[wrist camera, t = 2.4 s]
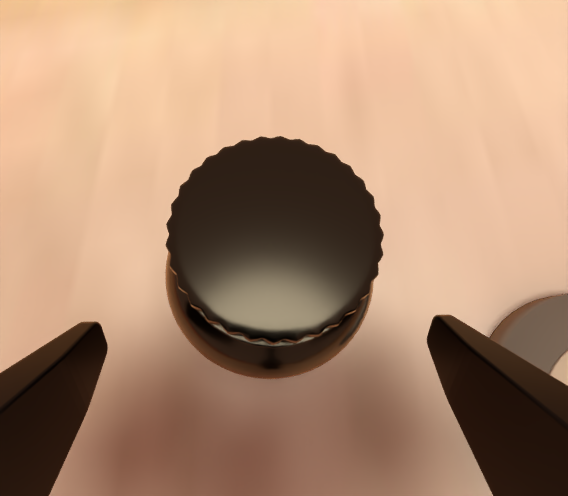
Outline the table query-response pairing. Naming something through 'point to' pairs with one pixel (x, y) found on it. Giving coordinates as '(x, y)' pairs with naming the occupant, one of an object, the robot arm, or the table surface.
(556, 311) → the hub pad
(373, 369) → the table surface
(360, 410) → the table surface
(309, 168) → the supplement bottle
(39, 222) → the table surface
